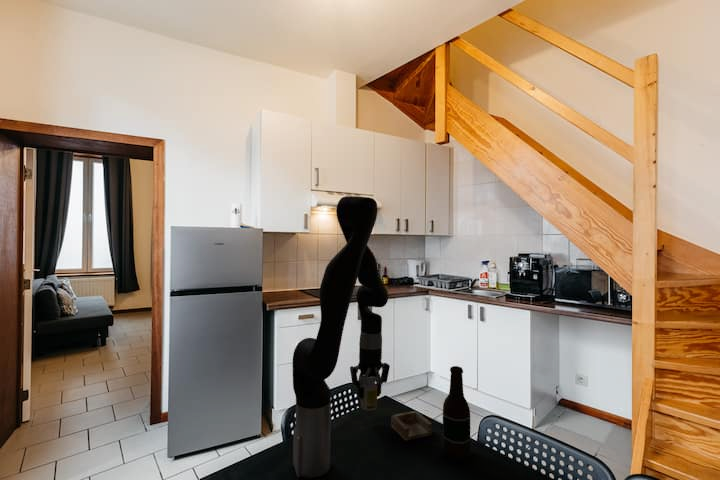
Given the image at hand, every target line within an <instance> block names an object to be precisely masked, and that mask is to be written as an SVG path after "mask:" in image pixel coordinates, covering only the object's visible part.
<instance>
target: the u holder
mask: <svg viewBox="0 0 720 480" xmlns="http://www.w3.org/2000/svg"><path fill="white" fill-rule="evenodd" d="M390 417H391V420H390V421H391V422H390V424H391V425H390V426H391V428H392V429H393V430H395V431H396V433H397V434H398V435H399V436H400V438H402V439H403V440H404V441H405V442H407V441H412V440H416V439H419V438H424V437H425V438H426V437H429V436H433V423H432V422H431V421H430V420H429V419H427V418H426V417H424V416H423V415H422V414H421V413H420V412H418V410H413V411H412V410H411V411H407V412H406V411H405V412H401V413H396V414H391V415H390Z"/></svg>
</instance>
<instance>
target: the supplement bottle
mask: <svg viewBox="0 0 720 480" xmlns="http://www.w3.org/2000/svg"><path fill="white" fill-rule="evenodd" d="M375 383H376V378H375V377H372V376H371V377H367V380H366V381H365V383H364V385H363V388H364V389H363V399H360V408H361V409H362V410H366V411H375V410H377V407H378V397H377V384H375Z"/></svg>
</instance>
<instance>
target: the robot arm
mask: <svg viewBox="0 0 720 480" xmlns="http://www.w3.org/2000/svg"><path fill="white" fill-rule="evenodd" d="M378 209H379V208H378V203H377V201H376V200H375V199H374V198H373V197H366V196H353V195H352V196H348V195H346V196H343V197H341V198H340V199H339V201H338V202H337V204H336V212H335V214H336V218H337V222H338V225H339V228H340V230H341V232H342V234H343V237H344V239H345V242H346V244H345V245H344V246H343V247H342V248H341V249H340V250H339V251H338V252H337V253H336V254H335V255H334V256H333V257H332V258H331V260H330V261H329V262H328V264H326V267H325V270H324V272H323V276H322V279H321V283H320V287H319V305H320V323H319V327H318V331H317V335H316V337H315V338H314V337H305V338H304V339H301V340H300V341H299V342H298V343H297V345H296V346H295V348H294V350H293V354H292V388H293V392H294V394H295V427H294V428H293V439H292V444H293V446H292V447H293V449H292V451H293V455H292V466H293V467H294V470H295V474H296V476H297V478H301V477H302V478H303V477H304V478H310V479H311V478H317V477H321V476H323V475H324V474H327V472H328V471H329V470H330V467H331V424H332V423H331V421H332V420H331V419H332V418H331V417H332V413H331V411H332V406H331V405H332V392H331V391H332V390H331V389H330V387H329V385H328V384H327V382H326V379H328V378H330V376H331V375H332V373H334V371H335V368H336V366H337V363H338V359H339V354H340V350H341V349H340V348H341V345H342V343H341V342H342V339H343V332H344V327H345V325H346V324H345V323H346V320H347V315H348V312H349V307H350V304H351V301H352V297H353V293H354V290H355V287H356V284H357V280H358V283H359V284H360V286H359V287H358V288H357V291H356V302H357V306H358V311H359V315H360V335H359V344H358V345H359V347H358V349H359V354H358V355H359V356H358V358H359V359H358V360H359V361H358V364H357V365H356V366H352V365H351V366H350V367H349V371H350V376H351V377H350V378H351V382H352V385H353V386H354V387H356V388H357V392H356V393H357V396H358V397H359V398H360V400H361V399H363V389H364V388H363V385H364V383H365V381H366V380H367V377H371V376H372V377H375V378H376V382H375V384H377V398H378V397H380V395H382V386H383V385H382V384H384V383H388V378H389V372H390V367H391V365H390V364H389V363H387V362H382V358H383V357H382V356H383V354H382V353H383V351H382V350H383V348H382V347H383V336H382V332H383V331H382V329H383V328H382V327H383V326H382V325H383V323H382V322H383V318H382V315H380V314H378V313H375V312H373V311H372V310H371V309H370V307H372V308H383V307H385V306H386V305H387V304H388V301H389V292H388V289H387V287H386V286H385V284H384V282H383V280H382V279H381V275H380V273H379V268H378V262H377V259H376V257H375V254H374V253H373V251H372V250H371V249H370V247H369V246H368V243H369V240H370V238H371V235H372V232H373V231H374V228H375V224H376V221H377V216H378V211H379V210H378ZM380 370H381V374H380ZM358 372H359V373H358ZM358 375H359V376H358Z"/></svg>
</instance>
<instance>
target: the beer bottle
mask: <svg viewBox="0 0 720 480" xmlns="http://www.w3.org/2000/svg"><path fill="white" fill-rule="evenodd" d="M449 371H450V381H449V383H450V384H449V392H448V395H446V398H445V399H444V401H443V404H442V405H443V406H442V448H443V452H444V455H446V456H447V457H449V458H451V459H454V460H465V459H466V458H468V457H470V454H471V409H470V406H469V403H468V401H467V399H466V398H465V395H464V381H463V374H464V370H463V368H462V367H461V366H458V365H453V366H451V367H450V368H449Z"/></svg>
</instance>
